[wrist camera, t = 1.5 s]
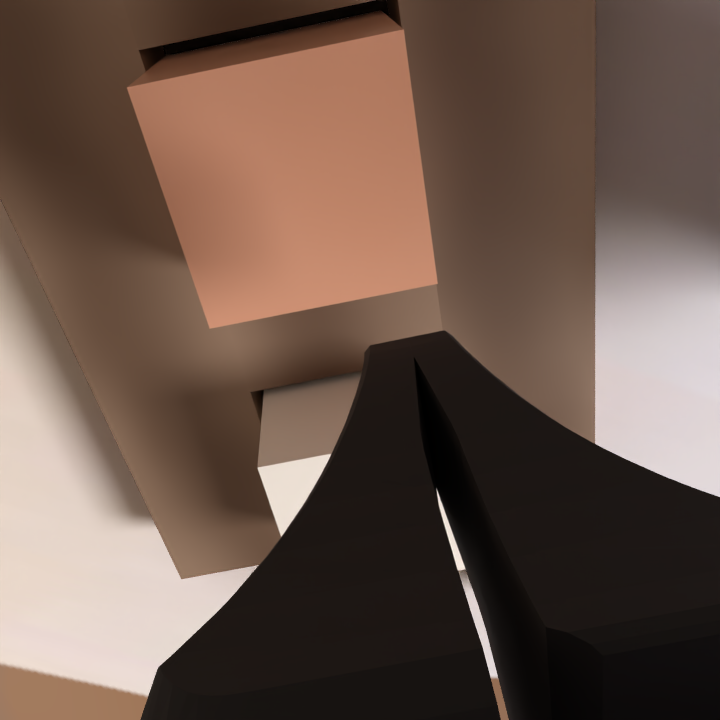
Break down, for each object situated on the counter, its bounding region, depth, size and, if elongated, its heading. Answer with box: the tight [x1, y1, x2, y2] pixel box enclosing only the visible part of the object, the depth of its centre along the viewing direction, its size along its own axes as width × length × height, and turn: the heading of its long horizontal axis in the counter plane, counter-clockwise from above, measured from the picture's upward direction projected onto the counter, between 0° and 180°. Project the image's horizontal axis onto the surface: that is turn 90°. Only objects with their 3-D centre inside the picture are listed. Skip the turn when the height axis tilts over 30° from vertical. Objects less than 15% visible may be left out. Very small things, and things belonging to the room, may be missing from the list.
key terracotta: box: [127, 10, 438, 329], centre depth 15 cm, size 5×5×4 cm
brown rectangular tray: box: [0, 0, 596, 579], centre depth 17 cm, size 14×26×2 cm, turn 10°
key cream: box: [257, 370, 465, 571], centre depth 20 cm, size 5×5×4 cm
